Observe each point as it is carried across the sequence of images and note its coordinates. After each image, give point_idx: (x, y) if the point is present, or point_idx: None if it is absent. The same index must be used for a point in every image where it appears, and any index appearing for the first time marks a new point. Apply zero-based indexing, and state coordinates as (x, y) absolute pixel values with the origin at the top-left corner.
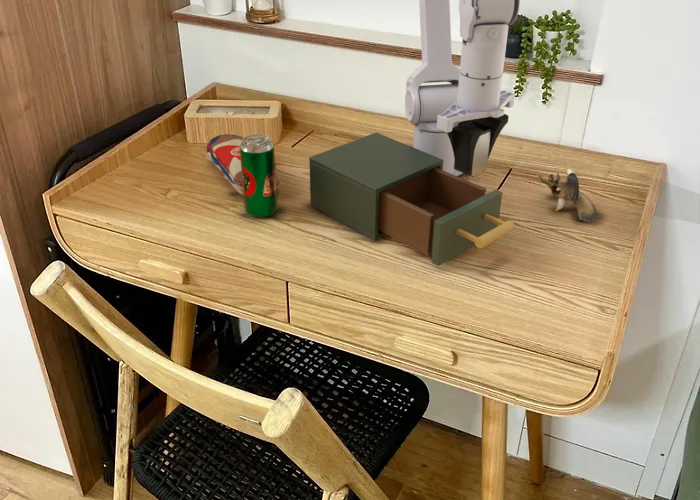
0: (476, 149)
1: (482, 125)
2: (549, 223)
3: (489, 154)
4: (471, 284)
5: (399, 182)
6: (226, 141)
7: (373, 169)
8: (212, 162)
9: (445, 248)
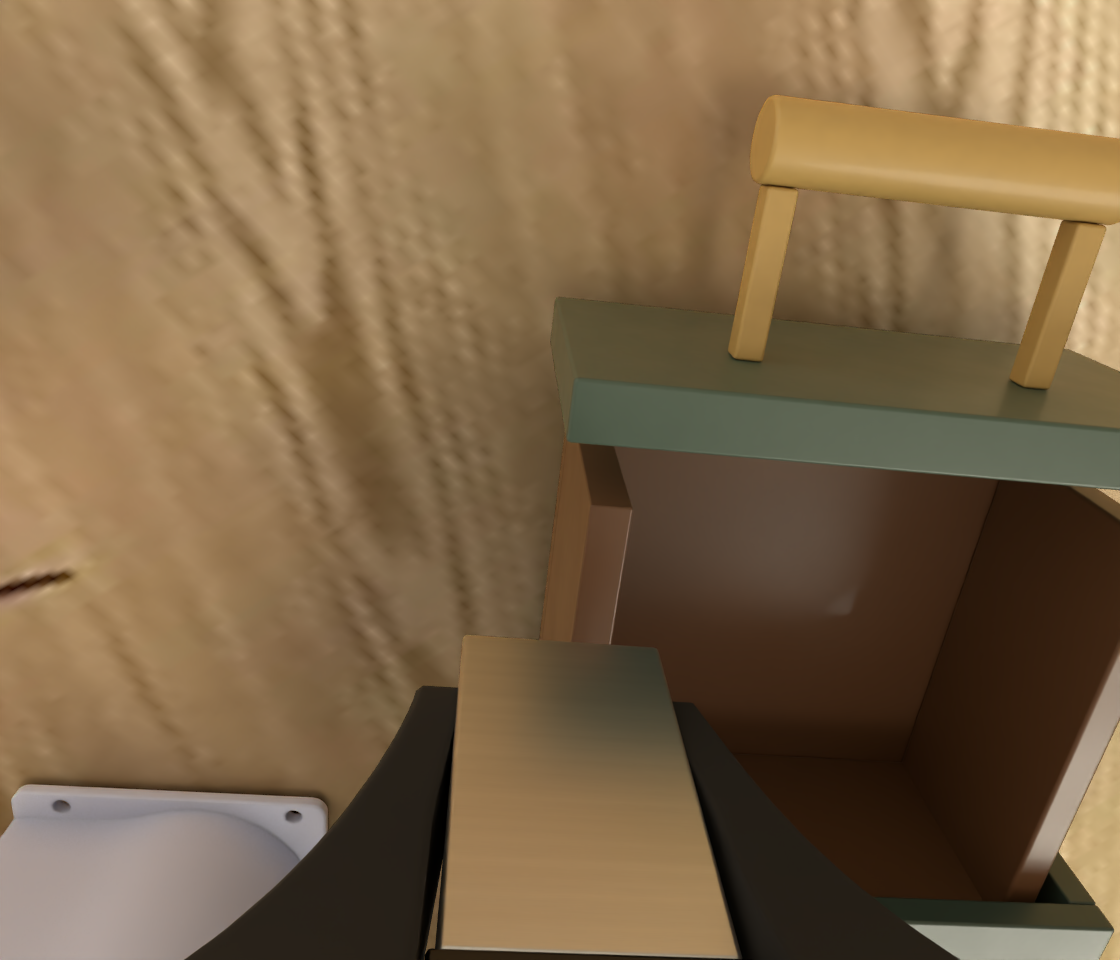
0: (679, 826)
1: None
2: (154, 119)
3: (417, 724)
4: (1077, 131)
5: (905, 902)
6: None
7: None
8: None
9: (1077, 370)
